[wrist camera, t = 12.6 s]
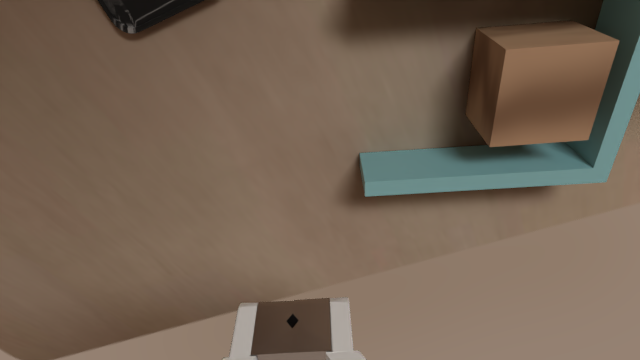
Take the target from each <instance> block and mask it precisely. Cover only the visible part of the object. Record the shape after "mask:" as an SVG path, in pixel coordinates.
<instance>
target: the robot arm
mask: <svg viewBox="0 0 640 360" xmlns="http://www.w3.org/2000/svg"><path fill="white" fill-rule="evenodd" d="M222 360H366V358H365V357H364V356H363V355H362V353H361V352H360V351H354V350H353V340H352V328H351V317H350V306H349V299H348V297H345V298H322V299H307V300H294V301H278V302H250V303H240V305H239V307H238V311H237V316H236V322H235V328H234V333H233V338H232V343H231V349H230V354H229V357H224V358H223V359H222Z"/></svg>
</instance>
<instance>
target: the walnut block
mask: <svg viewBox="0 0 640 360" xmlns="http://www.w3.org/2000/svg"><path fill="white" fill-rule="evenodd" d="M618 44H619V40H617V39H615V38H612V37H610V36H608V35H605V34H603V33H601V32H598V31H596V30H593V29H591V28H589V27H586V26H584V25H582V24H579V23H577V22H575V21H572V20H569V21H557V22H545V23H532V24H520V25H508V26H495V27H483V28H476V34H475V42H474V50H473V58H472V66H471V74H470V82H469V89H468V97H467V105H466V113H465V115H466V116H467V117H468V119H469V120H470V122H471V123H472V124H473V126H474V127H475V128H476V130H477V131H478V132H479V134H480V135H481V136H482V138H483V139H484V140H485V142H486V143H487V144H488V146H489V147H499V146H513V145H527V144H541V143H555V142H569V141H583V140H588V139H589V136H590V133H591V130H592V126H593V123H594V120H595V117H596V114H597V111H598V107H599V104H600V101H601V98H602V95H603V92H604V89H605V85H606V82H607V79H608V76H609V73H610V70H611V66H612V63H613V60H614V57H615V54H616V51H617V47H618Z"/></svg>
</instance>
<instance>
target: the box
mask: <svg viewBox="0 0 640 360" xmlns="http://www.w3.org/2000/svg"><path fill="white" fill-rule="evenodd" d="M595 30H596V31H598V32H601V33H603V34H605V35H608V36H610V37H612V38H615V39H617V40H619V44H618V47H617V51H616V54H615V57H614V60H613V63H612V66H611V70H610V73H609V76H608V79H607V82H606V85H605V89H604V92H603V95H602V98H601V101H600V104H599V107H598V111H597V114H596V117H595V120H594V123H593V126H592V130H591V133H590V136H589V139H588V140H583V141H569V142H555V143H541V144H527V145H513V146H499V147H489V146H488V145H480V146H464V147H449V148H433V149H417V150H401V151H385V152H369V153H360V171H361V177H362V182H363V188H364V194H365V197H367V196H384V195H400V194H417V193H434V192H450V191H467V190H484V189H500V188H517V187H533V186H550V185H567V184H583V183H600V182H606V181H607V178H608V176H609V173H610V170H611V168H612V165H613V162H614V160H615V157H616V155H617V152H618V149H619V147H620V144H621V141H622V139H623V136H624V133H625V131H626V128H627V125H628V123H629V120H630V117H631V115H632V112H633V109H634V107H635V104H636V101H637V99H638V96H639V93H640V0H603V3H602V7H601V10H600V14H599V17H598V21H597V24H596V28H595Z"/></svg>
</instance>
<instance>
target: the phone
mask: <svg viewBox="0 0 640 360" xmlns="http://www.w3.org/2000/svg"><path fill="white" fill-rule="evenodd" d="M202 1H204V0H98V2H99V3H100V5H101V6H102V8H103V9H104V11H105V12H106V14H107V15H108V17H109V18H110V20H111V21H112V22H113V23H114V25H115V26H116V27H117V28H119V29H120V30H122V31H124V32H126V33H138V32H140V31H142V30H144V29H147V28H149V27H151V26H153V25H155V24H157V23H159V22H161V21H163V20H165V19H167V18H169V17H171V16H173V15H175V14H177V13H179V12H181V11H183V10H185V9H187V8H189V7H192V6H194V5H196V4H198V3H200V2H202Z"/></svg>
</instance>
